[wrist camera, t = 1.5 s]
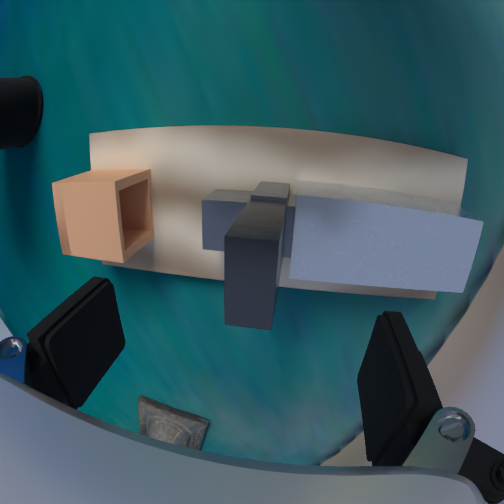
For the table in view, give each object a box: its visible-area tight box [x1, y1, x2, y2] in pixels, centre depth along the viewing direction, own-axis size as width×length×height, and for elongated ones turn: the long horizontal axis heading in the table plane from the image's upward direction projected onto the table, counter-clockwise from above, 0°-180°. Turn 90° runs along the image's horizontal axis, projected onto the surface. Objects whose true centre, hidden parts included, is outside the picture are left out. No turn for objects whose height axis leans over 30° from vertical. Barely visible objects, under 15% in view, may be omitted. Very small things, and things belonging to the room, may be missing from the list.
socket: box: [52, 169, 154, 263], centre depth 21 cm, size 6×6×5 cm
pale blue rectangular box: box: [289, 179, 484, 293], centre depth 18 cm, size 5×12×5 cm, turn 88°
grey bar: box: [202, 181, 296, 330], centre depth 16 cm, size 4×16×10 cm, turn 88°
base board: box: [90, 126, 468, 299], centre depth 22 cm, size 12×30×2 cm, turn 88°
